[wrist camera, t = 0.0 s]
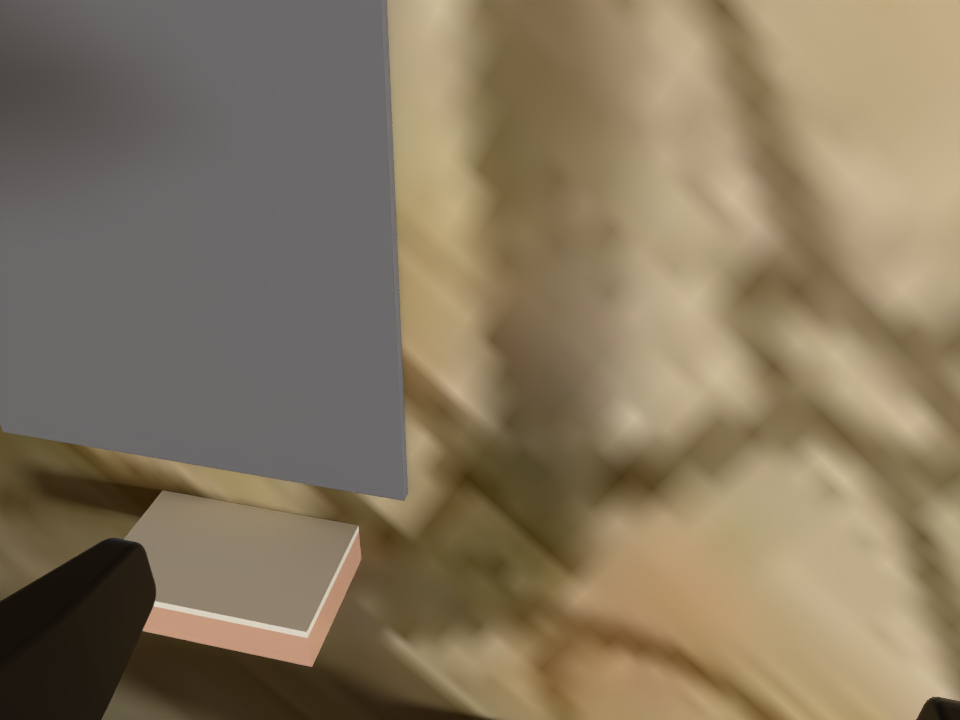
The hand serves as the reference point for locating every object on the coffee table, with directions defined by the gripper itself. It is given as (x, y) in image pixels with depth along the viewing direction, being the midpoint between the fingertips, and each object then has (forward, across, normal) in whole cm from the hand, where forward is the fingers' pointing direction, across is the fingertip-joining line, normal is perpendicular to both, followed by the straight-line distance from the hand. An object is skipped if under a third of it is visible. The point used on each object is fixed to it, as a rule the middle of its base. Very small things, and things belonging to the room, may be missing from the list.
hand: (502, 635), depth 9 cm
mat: (+15, +14, +3) cm, 21 cm away
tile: (+15, +12, +15) cm, 24 cm away
